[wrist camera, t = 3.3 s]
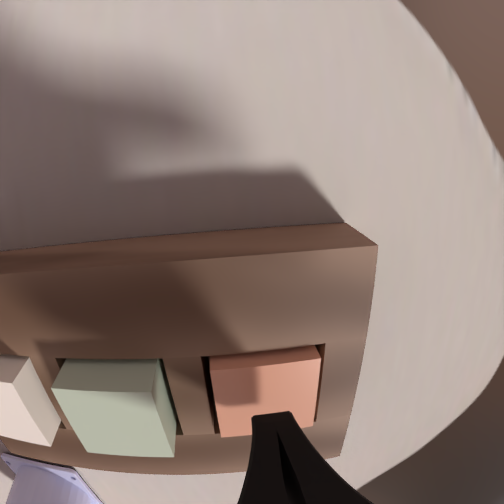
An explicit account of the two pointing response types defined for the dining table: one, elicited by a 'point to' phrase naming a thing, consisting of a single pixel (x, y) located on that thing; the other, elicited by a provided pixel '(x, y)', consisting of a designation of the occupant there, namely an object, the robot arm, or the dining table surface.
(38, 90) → the dining table surface
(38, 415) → the cream button
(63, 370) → the sage button
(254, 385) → the terracotta button
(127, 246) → the button panel
